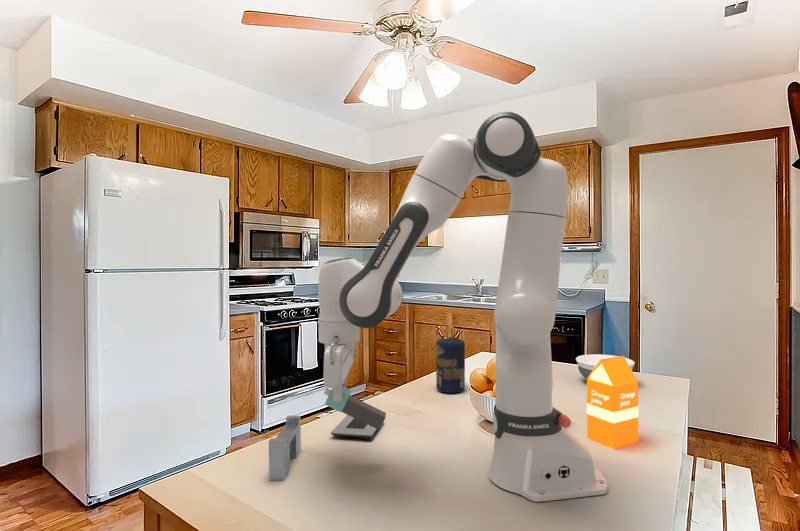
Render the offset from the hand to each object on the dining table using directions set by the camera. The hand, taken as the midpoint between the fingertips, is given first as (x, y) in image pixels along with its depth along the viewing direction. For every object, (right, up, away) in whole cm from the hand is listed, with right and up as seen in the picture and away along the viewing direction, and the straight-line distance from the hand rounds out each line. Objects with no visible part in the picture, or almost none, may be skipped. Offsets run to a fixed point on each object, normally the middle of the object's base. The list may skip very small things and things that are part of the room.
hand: (339, 396), depth 101 cm
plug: (+2, -4, 0) cm, 4 cm away
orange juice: (+64, -14, +11) cm, 67 cm away
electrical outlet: (+2, -15, +19) cm, 24 cm away
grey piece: (-12, -15, 0) cm, 19 cm away
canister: (+30, -14, +54) cm, 63 cm away
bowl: (+84, -13, +60) cm, 104 cm away
